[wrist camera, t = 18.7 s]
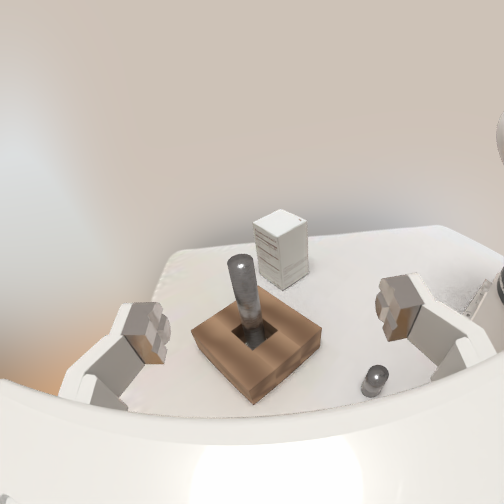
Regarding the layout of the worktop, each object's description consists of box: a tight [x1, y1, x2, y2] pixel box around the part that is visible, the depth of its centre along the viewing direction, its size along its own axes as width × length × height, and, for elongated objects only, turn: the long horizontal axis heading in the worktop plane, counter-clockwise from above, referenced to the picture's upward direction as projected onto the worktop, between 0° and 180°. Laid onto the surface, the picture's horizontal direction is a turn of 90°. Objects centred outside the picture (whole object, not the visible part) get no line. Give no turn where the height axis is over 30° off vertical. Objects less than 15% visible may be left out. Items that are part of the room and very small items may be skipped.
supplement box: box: [253, 209, 308, 290], centre depth 53 cm, size 7×7×13 cm
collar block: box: [191, 286, 322, 405], centre depth 41 cm, size 14×14×5 cm
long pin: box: [227, 254, 266, 351], centre depth 37 cm, size 3×3×18 cm
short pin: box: [361, 365, 389, 398], centre depth 32 cm, size 3×3×4 cm
